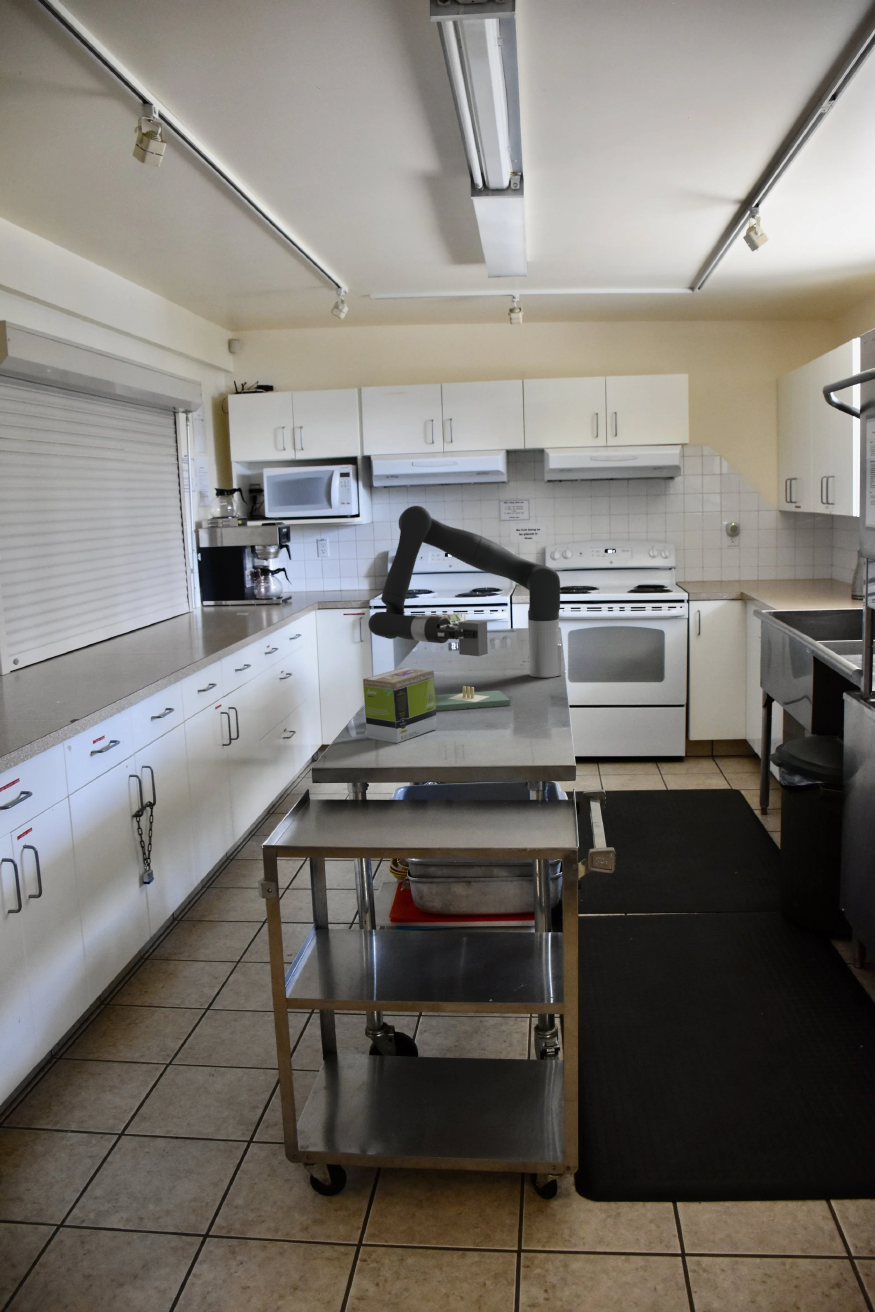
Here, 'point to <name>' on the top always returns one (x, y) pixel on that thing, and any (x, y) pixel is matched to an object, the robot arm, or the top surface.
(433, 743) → the top surface
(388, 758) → the top surface
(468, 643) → the dark grey rectangular block
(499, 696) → the board
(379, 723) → the tea box
